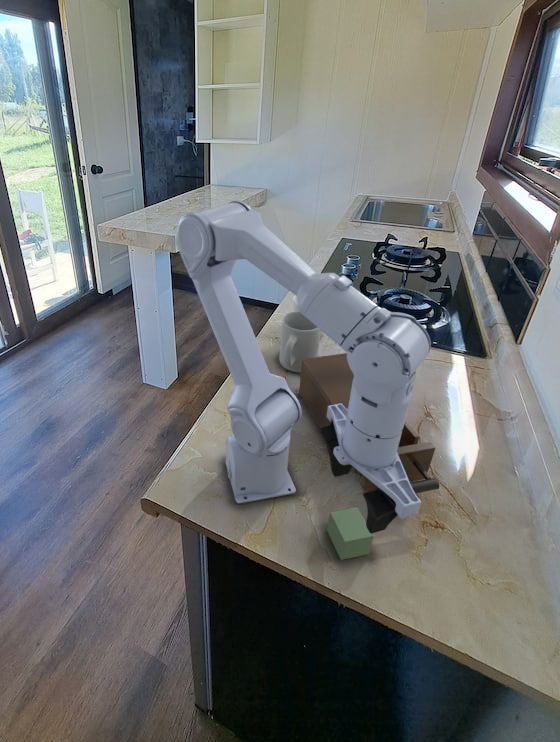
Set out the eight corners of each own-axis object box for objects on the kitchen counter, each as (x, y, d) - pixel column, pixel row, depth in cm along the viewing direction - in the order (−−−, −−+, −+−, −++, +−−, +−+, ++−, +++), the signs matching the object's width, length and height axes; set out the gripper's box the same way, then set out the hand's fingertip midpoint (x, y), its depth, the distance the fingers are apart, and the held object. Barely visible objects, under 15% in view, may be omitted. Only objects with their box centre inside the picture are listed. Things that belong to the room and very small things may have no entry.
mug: (287, 346, 94) (290, 307, 89) (321, 357, 89) (327, 316, 85) (267, 374, 85) (269, 332, 80) (304, 387, 80) (309, 343, 76)
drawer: (446, 504, 56) (458, 472, 53) (380, 518, 54) (388, 485, 51) (375, 416, 71) (382, 387, 68) (323, 424, 70) (327, 395, 67)
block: (340, 560, 50) (344, 541, 48) (326, 530, 54) (329, 512, 52) (368, 554, 51) (373, 535, 49) (353, 525, 54) (357, 506, 53)
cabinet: (393, 439, 68) (403, 401, 64) (332, 449, 66) (338, 412, 62) (350, 385, 81) (356, 351, 77) (298, 392, 79) (302, 358, 75)
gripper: (309, 383, 48) (301, 459, 54) (385, 483, 35) (363, 568, 41) (360, 373, 49) (346, 448, 55) (450, 466, 37) (419, 551, 43)
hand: (356, 499), depth 48 cm, fingers open, 7 cm apart
